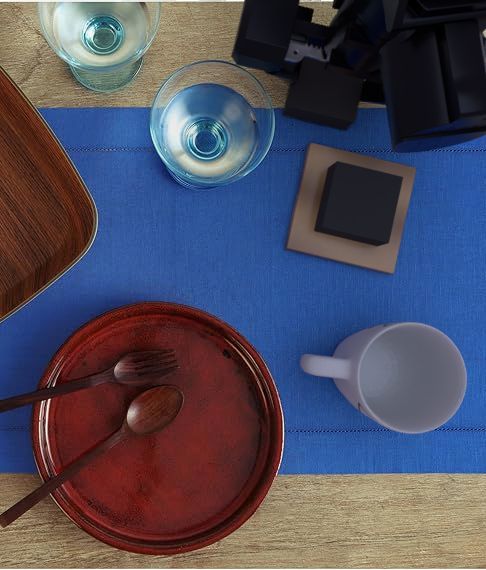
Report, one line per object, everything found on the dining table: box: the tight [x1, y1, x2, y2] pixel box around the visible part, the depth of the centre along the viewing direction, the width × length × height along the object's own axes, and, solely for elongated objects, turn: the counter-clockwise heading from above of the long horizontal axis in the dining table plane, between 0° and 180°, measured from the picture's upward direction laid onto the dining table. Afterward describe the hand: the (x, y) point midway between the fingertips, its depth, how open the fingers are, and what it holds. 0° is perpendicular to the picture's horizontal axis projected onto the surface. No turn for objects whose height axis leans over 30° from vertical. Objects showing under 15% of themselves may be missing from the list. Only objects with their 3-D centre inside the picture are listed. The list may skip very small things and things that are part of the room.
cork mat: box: [283, 142, 418, 275], centre depth 57 cm, size 10×10×1 cm
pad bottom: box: [314, 161, 403, 246], centre depth 55 cm, size 6×6×2 cm
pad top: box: [282, 46, 365, 131], centre depth 56 cm, size 6×6×2 cm
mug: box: [299, 321, 468, 435], centre depth 51 cm, size 11×8×10 cm
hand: (324, 87), depth 56 cm, fingers closed on pad top, 6 cm apart
